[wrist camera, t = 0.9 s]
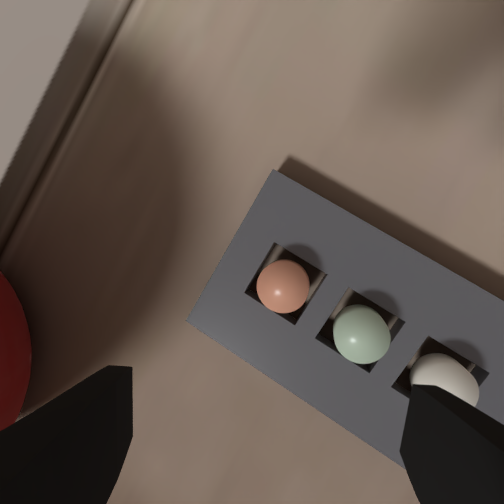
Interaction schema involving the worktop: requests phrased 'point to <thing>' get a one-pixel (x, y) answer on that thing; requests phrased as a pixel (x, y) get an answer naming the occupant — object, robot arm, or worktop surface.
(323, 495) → the worktop surface
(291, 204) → the button panel
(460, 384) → the cream button
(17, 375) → the mixing bowl
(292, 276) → the terracotta button
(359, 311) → the sage button
